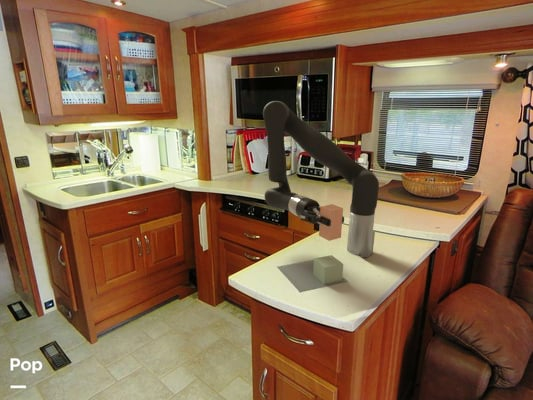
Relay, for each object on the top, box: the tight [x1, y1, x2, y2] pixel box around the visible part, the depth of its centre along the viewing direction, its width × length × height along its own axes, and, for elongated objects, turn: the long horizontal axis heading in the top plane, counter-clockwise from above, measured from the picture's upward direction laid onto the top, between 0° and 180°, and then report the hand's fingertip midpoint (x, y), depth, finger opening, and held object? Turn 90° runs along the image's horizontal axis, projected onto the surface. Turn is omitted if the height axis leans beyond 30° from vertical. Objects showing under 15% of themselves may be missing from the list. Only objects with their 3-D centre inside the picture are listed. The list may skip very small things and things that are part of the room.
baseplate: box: [276, 259, 349, 293], centre depth 118 cm, size 18×18×1 cm
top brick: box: [318, 203, 344, 242], centre depth 110 cm, size 5×5×10 cm
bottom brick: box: [313, 254, 344, 284], centre depth 115 cm, size 7×7×6 cm
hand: (336, 221), depth 108 cm, fingers closed on top brick, 5 cm apart
